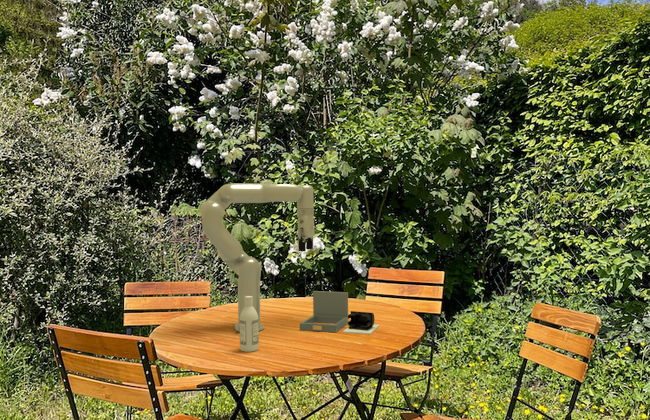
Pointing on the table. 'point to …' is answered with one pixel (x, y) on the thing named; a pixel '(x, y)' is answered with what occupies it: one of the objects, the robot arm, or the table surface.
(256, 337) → the bath foam
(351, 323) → the end cap
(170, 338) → the table surface
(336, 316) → the equipment case
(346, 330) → the grey mat
